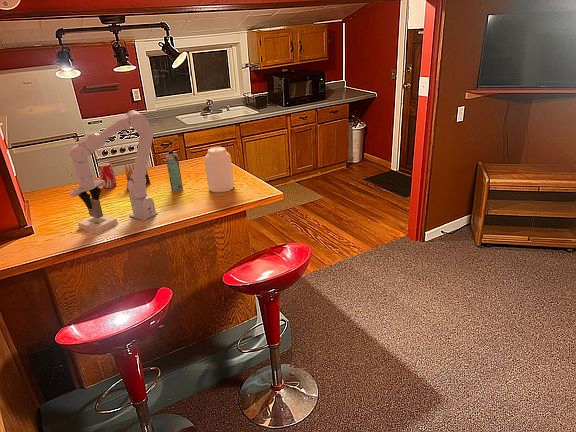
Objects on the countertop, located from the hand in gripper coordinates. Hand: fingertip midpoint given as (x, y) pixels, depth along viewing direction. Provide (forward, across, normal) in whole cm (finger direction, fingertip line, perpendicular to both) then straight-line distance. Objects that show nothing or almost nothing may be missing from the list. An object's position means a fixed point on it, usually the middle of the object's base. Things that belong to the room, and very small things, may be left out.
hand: (93, 206), depth 173 cm
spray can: (+9, -44, +2) cm, 45 cm away
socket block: (+9, 0, 0) cm, 9 cm away
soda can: (+9, -32, -34) cm, 48 cm away
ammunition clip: (+9, -40, -22) cm, 46 cm away
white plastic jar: (+9, -55, +20) cm, 59 cm away
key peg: (+4, 0, 0) cm, 4 cm away
